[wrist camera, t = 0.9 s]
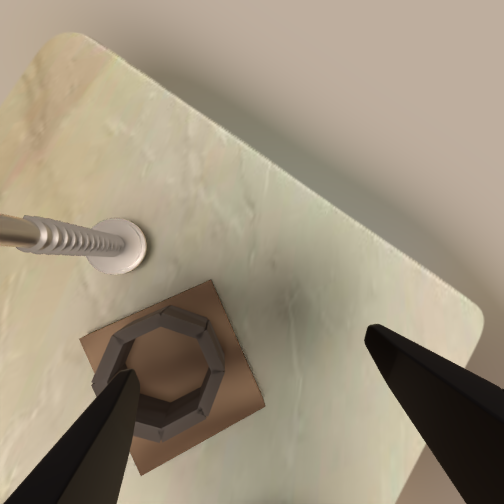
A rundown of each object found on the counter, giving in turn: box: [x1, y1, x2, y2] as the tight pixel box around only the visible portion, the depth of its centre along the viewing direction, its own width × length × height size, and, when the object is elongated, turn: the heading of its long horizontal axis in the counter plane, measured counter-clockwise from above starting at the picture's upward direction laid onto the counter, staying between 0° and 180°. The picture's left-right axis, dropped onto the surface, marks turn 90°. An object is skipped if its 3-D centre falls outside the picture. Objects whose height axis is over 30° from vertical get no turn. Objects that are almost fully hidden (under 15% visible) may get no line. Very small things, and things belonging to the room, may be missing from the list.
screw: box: [0, 214, 147, 275], centre depth 14 cm, size 13×5×5 cm
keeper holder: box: [79, 280, 265, 476], centre depth 18 cm, size 13×12×4 cm
